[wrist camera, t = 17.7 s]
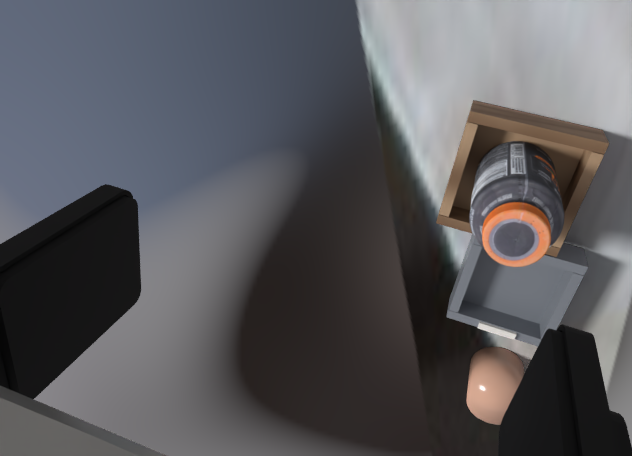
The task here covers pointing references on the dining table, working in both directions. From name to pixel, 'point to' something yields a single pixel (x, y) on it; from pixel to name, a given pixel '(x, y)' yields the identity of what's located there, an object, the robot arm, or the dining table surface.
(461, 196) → the brown wooden open tray
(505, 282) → the gray square open tray
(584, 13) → the dining table surface
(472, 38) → the dining table surface
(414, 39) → the dining table surface
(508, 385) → the peach rounded capsule
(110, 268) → the robot arm
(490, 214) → the pill bottle
